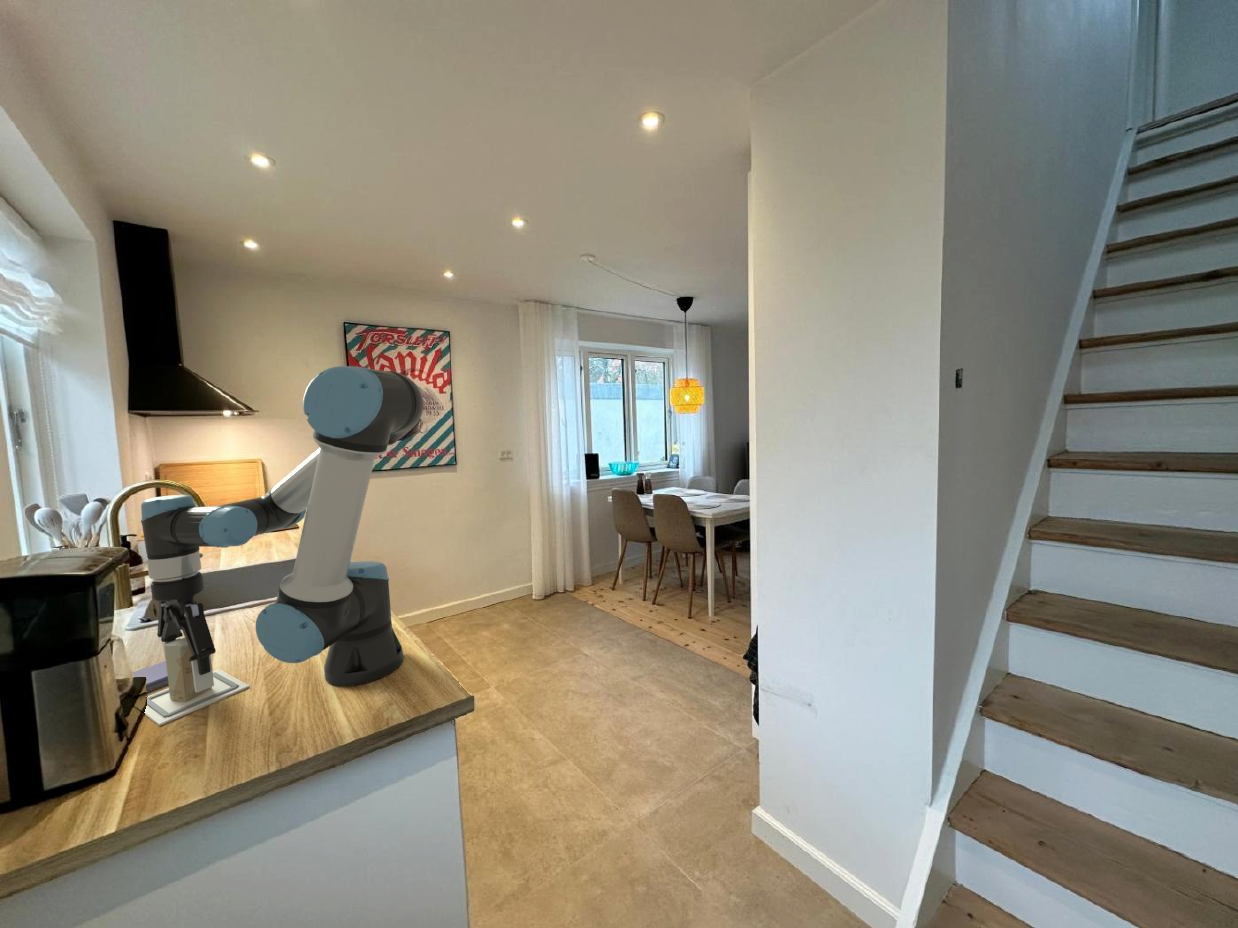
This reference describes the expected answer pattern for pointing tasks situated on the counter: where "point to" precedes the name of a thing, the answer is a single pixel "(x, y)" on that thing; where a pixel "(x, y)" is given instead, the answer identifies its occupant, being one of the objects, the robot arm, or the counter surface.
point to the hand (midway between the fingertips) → (190, 679)
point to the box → (180, 671)
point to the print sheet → (168, 710)
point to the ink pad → (154, 676)
